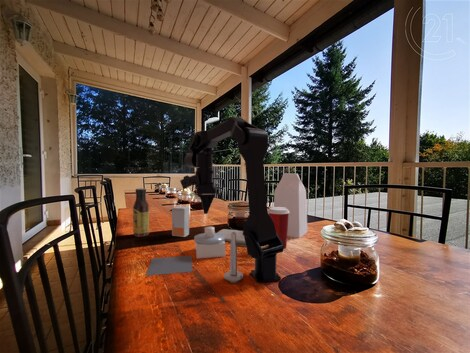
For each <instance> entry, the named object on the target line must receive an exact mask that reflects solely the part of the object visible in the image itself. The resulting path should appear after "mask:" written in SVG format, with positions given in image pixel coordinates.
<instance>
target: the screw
mask: <svg viewBox="0 0 470 353" xmlns="http://www.w3.org/2000/svg"><path fill="white" fill-rule="evenodd" d="M236 243H237V242H236V233H234V232H232V233H231V243H229V251H230V252H229V265H230V266H229V270H228V271H226V272H225V273H224V274H223V278H224V279H225V280H226V281H228V282H229V283H232V284H234V283H235V284H236V283H238V282H239V281H241V280H242V279H243V278H244V274H243V272H242V271H240V270H238V245H237V244H236Z"/></svg>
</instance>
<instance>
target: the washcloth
mask: <svg viewBox="0 0 470 353" xmlns="http://www.w3.org/2000/svg"><path fill="white" fill-rule="evenodd" d="M232 232H234V233H236V242H237V243H236V244H237V246H241V247H246V243H245V238H244V236H243V230H237V229H227V228H223V229H221V230H218V231H217V233H220V234H223V235H224V236H225V240H224V241H225V242H228V243H229V244H230V243H231V233H232Z"/></svg>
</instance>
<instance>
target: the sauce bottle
mask: <svg viewBox="0 0 470 353" xmlns="http://www.w3.org/2000/svg"><path fill="white" fill-rule="evenodd" d="M146 193H147V188H145V187H143V188H142V187H140V188H139V187H138V188H135V195H136V196H135V202H134V204H133V207H132V224H133V225H132V227H133V228H132V229H133V231H132V232H133V236H135V237H136V238H143V237H147V236H148V235H149V234H150V211H149V210H150V208H149V206H150V205H149V202H148V201H147V199H146V198H147V197H146V195H147V194H146Z"/></svg>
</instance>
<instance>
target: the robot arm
mask: <svg viewBox="0 0 470 353" xmlns="http://www.w3.org/2000/svg"><path fill="white" fill-rule="evenodd" d="M230 136H231V138H232V139H233V140H234V141H235V142H236V144H237V150H238V153H239V154H240V156H241V157H242V159H243V160H244V165H245V174H246V175H245V176H246V178H245V179H246V188H247V200H248V201H247V202H248V216H247V218H246V219H243V220H242V224H241V226H242V231H243V236H244V238H245V243H246V246H245V247H246V250H247V254H248V256H250V257H251V259H254V269H251V270H250V274H251V275H252V277H253V278H254V280H255V282H256V283H267V282H269V283H270V282H278V281H279V282H280V281H281V280H282V277H281V276H280V275H279V274H278V272H277V262H278V261H277V257H278V256H277V254H280V253H283V252H284V250H285V249H284V244H283V242H282V241H281V239H280V238H279V236H278V235H277V233H276V230H275V225H274V221H273V220H272V218H271V217H270V215H269V213H268V211H269V210H268V203H267V201H268V200H267V191H266V178H265V176H266V174H265V166H264V159H265V157H266V155H267V152H268V150H269V135H268V132H267V131H265V130H264V129H261V128H258V126H255V125H254V124H251V123H249V122H248V121H247V120H246V119H244V118H243V117H237V116H236V117H235V116H230V117H228V118H227V119H226V120H225V121H223V122H221V123H220V124H218V125H216V126H214V127H213V128H210V129H208V130H198V131H196V132H195V133H194V134H193V137H192V139H191V141H190V144H189V145H188V147H189V148H188V153H186V155H185V157H184V159H183V163H184V165H185V166H186V167H187V168H192V169H193V168H196V169H195V171H194V173H195V174H194V175H191V176H189V175H185V176H183V179H180V180H179V182H180V184H181V187H182V189H183V190H185V189H187V188H189V187H191V186H194V189H195V192H196V196H197V197H198V198H200V203H201V208H202V210H203V214H205V215H207V214H208V213H209V210H210V208H211V205H212V203H213V201H214V199H215V197H216V194H217V187H216V186H215V185H214V182H213V180H214V179H213V174H214V170H213V164H214V163H213V155H215V156H216V152H215V150H213V149H214V148H215V147H216V146H217V145H218V143H219V142H220V141H222V140H224V139H226V138H229V137H230Z"/></svg>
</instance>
